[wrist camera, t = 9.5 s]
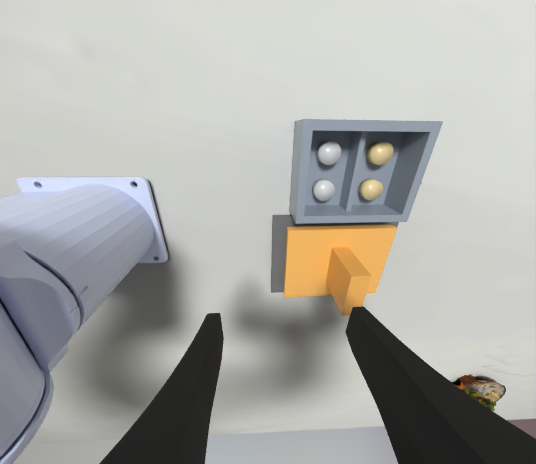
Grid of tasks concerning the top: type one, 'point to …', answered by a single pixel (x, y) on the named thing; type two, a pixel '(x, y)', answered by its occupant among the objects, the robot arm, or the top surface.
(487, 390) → the burger
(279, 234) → the mat
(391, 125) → the tub
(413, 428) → the robot arm
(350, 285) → the lid
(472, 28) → the top surface
